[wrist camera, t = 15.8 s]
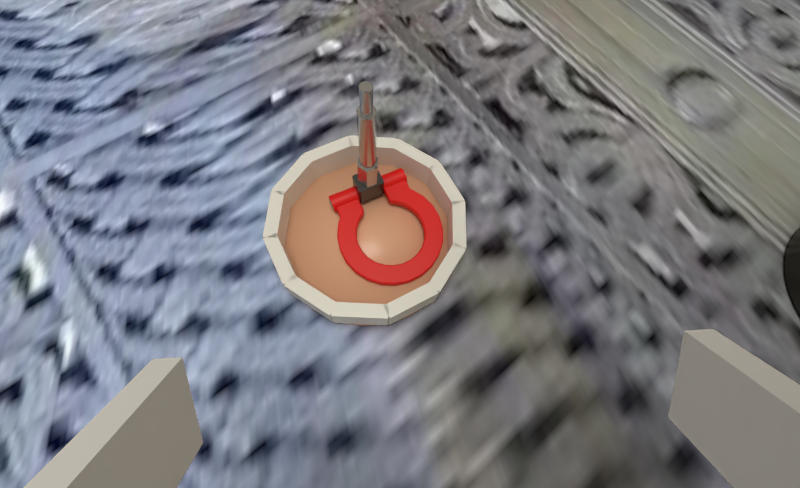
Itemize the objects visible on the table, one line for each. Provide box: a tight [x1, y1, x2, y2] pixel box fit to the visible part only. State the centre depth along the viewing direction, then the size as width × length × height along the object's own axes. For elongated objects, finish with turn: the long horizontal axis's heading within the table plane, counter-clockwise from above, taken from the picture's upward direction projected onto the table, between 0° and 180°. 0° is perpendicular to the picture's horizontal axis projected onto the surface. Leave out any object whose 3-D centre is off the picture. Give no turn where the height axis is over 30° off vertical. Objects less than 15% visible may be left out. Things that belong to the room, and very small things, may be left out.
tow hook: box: [328, 81, 443, 286], centre depth 26 cm, size 8×13×9 cm
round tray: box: [263, 136, 466, 326], centre depth 31 cm, size 15×15×3 cm
